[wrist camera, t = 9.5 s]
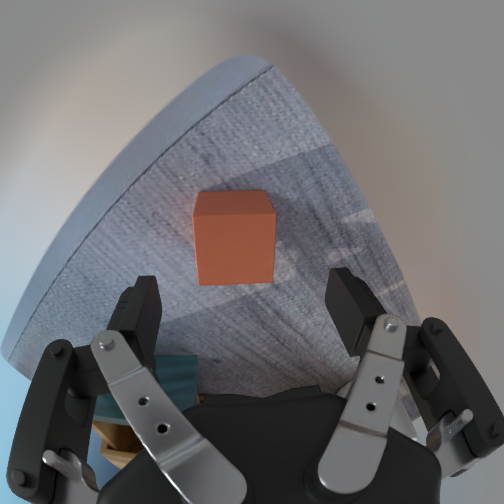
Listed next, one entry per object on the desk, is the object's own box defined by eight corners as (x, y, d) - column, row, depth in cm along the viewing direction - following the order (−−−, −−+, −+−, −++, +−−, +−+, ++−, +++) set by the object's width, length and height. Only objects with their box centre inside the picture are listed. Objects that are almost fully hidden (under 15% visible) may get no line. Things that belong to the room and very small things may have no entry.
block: (202, 250, 20) (198, 286, 16) (198, 191, 18) (192, 215, 14) (262, 248, 20) (272, 283, 16) (264, 190, 18) (277, 213, 14)
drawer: (70, 314, 20) (40, 375, 14) (189, 316, 22) (183, 391, 15) (127, 414, 29) (120, 461, 23) (210, 418, 30) (212, 468, 24)
